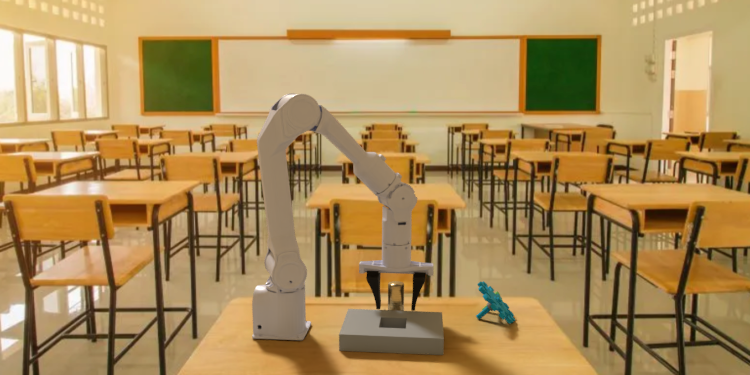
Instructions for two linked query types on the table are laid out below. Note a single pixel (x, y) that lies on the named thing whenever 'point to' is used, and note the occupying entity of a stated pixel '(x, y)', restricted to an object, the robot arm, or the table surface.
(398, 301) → the brass pin
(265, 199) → the robot arm
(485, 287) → the teal knobby piece
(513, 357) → the table surface
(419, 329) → the hole plate
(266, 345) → the table surface
